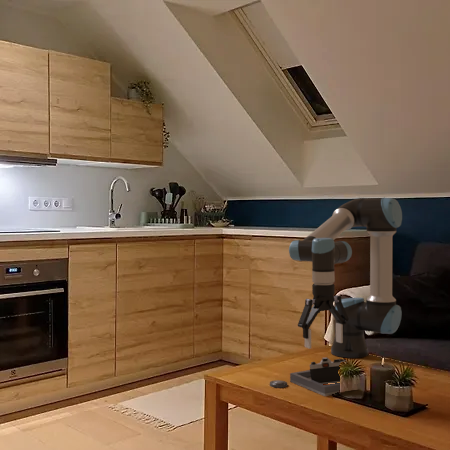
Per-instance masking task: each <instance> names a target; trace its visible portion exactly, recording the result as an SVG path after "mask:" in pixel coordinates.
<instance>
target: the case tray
mask: <svg viewBox="0 0 450 450" xmlns="http://www.w3.org/2000/svg"><path fill="white" fill-rule="evenodd" d="M289 375H290V376H289V382H290V383H292V384H295V385H297V386H300V387H301V388H304V389H306V390H308V391H312V392H314V393H316V394H319V395H321V396H322V397H328V396H333V395H332V394H334V395H336V394H335V393H337V392H339V390H340V383H335V384H330V385H323V384H321V383H318V382H316V381H313V380H311V374H310V369H307V370H301V371H300V370H299V371H295V372H290V373H289Z"/></svg>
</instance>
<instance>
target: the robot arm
mask: <svg viewBox="0 0 450 450" xmlns="http://www.w3.org/2000/svg"><path fill="white" fill-rule="evenodd" d="M402 221H403V211H402V208H401V206H400V204H399V201H398V200H397V199H395V198H392V197H385V196H384V197H359V198H355V199H352V200H349V201H347V202H346V203H343V204H342V205H340V206H338V207H337V208H336V209H335V210H334V211H333V213H332V216H330V217H329V218H328V219H326V221H324V222H323V223H322V224H321V225H319V227H317V228H316V229H315V230H313V231H312V232H311V233H310V234H309V235H307V236H306V237H305V238H304V239H302V240H300V239H297V240H292V241H291V242H290V244H289V246H288V247H289V248H288V254H289V257H290V258H291V260H293V261H297V262H298V261H299V262H311V263H312V264H311V266H312V268H311V275H312V277H311V278H312V279H311V281H312V284H311V285H312V286H311V288H312V289H311V290H312V291H311V292H312V295H313V297H312V299H309V298H305V301H304V307H303V309H302V312H301V316H300V317H299V320H298V323H297V327H298V328H302V337H303V339H304V347H305V348H306V349H312V329H311V328H310V327H311V326H312V325H313V322H314V321H315V319H316V317H317V316H318V314H319V313H321V312H325V311H329V312H330V314H331V315H332V316H333V318H334V319H335V321H334V322H335V327H334V328H335V334H334V338H333V341H332V342H333V343H332V345H331V349H330V353H331V354H332V355H333V356H334V357H335V356H336V357H339V358H350V359H351V358H352V359H359V358H364V357H367V356H369V347H368V345H367V342H366V338H365V332H371V333H379V334H382V335H384V334H386V335H387V334H389V335H393V334H394V333H396V332H397V330H398V328H399V326H400V325H401V320H402V314H403V313H402V307H401V306H400V305H398V304H397V299H396V298H395V297H394V296H393V236H394V235H395V234H396V233H397V228H399V227H401V226H402ZM357 227H366V232H367V233H368V235H369V236H370V241H369V242H370V244H369V245H370V250H369V251H370V252H369V254H370V256H369V257H370V259H369V260H370V261H369V263H370V264H369V265H370V269H369V270H370V271H369V276H370V277H369V281H370V282H369V296H367V298H366V300H365V298H364V297H345V298H342V295H337V294H335V288H336V287H335V281H336V280H335V279H336V278H335V276H336V275H335V265H336V264H343V263H345V262H347V261H349V260H350V258H352V254H353V250H352V247H351V245H350V244H349V243H348V242H347V241H344V240H343V241H341V240H338V241H334V240H336V239H337V238H338V237H339V236H340V235H341V234H342V233H343V232H345V231H348V230H350V229H352V228H357Z"/></svg>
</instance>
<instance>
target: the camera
mask: <svg viewBox="0 0 450 450" xmlns="http://www.w3.org/2000/svg"><path fill="white" fill-rule="evenodd" d="M345 361H346V362H347V360H346V359H345V358H342V359H341V358H337V359H333V361H332V360H331V359H330V358H329V357H322V358H321V360H320V362H318V363H316V361H312V362H310V363H309V370H310V374H311V380H313V381H316V382H318V383H321V384H328V383H337V382H340V376H339V374H338V370H339V369H340V367H339V365H340V363H341V362H345Z"/></svg>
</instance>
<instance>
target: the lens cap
mask: <svg viewBox="0 0 450 450" xmlns="http://www.w3.org/2000/svg"><path fill="white" fill-rule="evenodd" d="M269 387H271V388H275V389H284V388H287V387H288V382H287V381H285V380H279V379H278V380H272V381H270V382H269Z"/></svg>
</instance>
